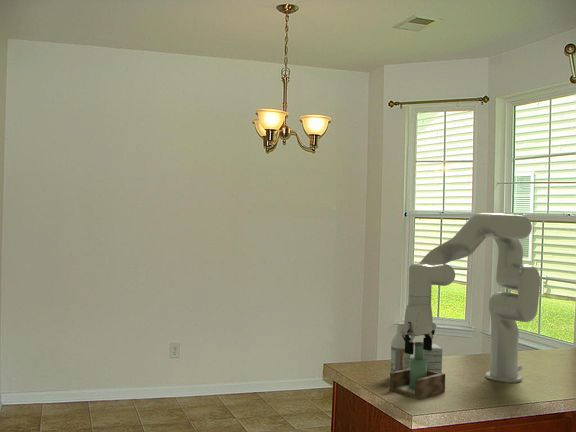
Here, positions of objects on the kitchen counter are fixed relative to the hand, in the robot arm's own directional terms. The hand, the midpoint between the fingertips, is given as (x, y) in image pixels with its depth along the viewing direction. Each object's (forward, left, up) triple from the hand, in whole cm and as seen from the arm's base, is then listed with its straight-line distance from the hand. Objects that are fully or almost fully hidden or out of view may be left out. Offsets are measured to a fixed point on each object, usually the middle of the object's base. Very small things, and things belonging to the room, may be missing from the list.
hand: (418, 351), depth 204 cm
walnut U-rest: (0, 0, -13) cm, 13 cm away
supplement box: (-14, -6, -13) cm, 20 cm away
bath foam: (-8, -14, -13) cm, 21 cm away
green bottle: (0, 0, -12) cm, 12 cm away
